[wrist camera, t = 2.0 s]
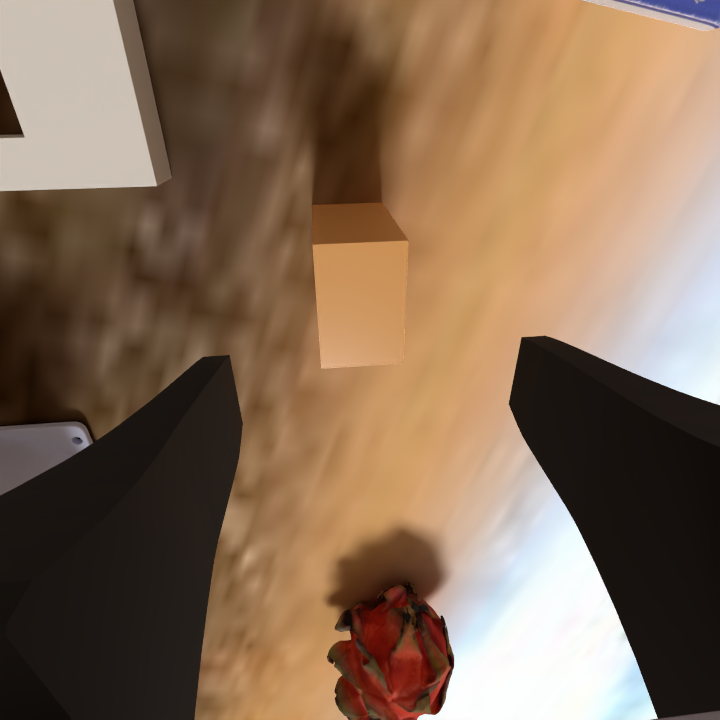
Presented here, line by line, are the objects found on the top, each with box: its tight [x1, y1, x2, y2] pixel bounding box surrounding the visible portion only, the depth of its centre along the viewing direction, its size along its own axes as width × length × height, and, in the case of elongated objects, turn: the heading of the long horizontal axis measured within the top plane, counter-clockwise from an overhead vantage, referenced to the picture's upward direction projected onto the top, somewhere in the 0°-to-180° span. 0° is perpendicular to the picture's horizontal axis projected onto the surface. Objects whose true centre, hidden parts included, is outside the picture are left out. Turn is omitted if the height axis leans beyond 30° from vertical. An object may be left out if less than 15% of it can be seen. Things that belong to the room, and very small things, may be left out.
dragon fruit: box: [327, 582, 454, 720], centre depth 32 cm, size 8×8×12 cm
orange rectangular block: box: [312, 203, 409, 369], centre depth 17 cm, size 4×3×6 cm, turn 1°
